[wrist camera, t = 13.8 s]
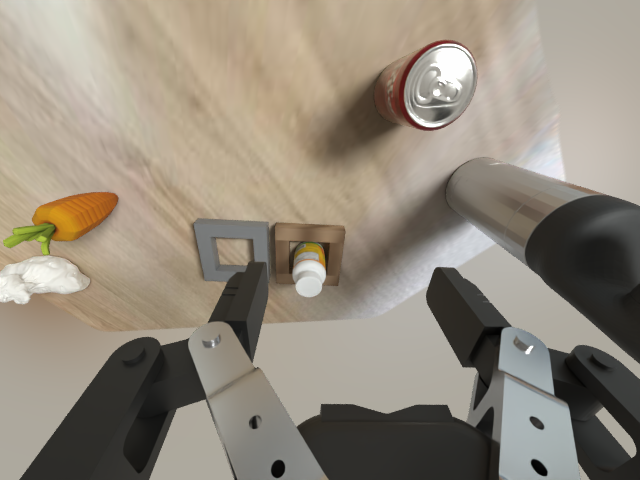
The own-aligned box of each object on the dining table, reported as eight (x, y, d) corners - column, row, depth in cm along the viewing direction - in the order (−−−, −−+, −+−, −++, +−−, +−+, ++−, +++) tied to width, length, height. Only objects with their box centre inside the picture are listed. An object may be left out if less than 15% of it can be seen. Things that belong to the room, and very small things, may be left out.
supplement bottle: (321, 266, 47) (323, 302, 38) (293, 262, 46) (289, 299, 38) (326, 241, 44) (329, 275, 36) (296, 238, 43) (292, 271, 35)
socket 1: (268, 222, 42) (266, 227, 40) (270, 276, 47) (268, 283, 46) (198, 218, 41) (193, 223, 39) (209, 274, 47) (204, 280, 45)
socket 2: (344, 225, 42) (345, 231, 41) (337, 279, 48) (338, 285, 46) (276, 222, 42) (275, 227, 40) (277, 276, 48) (276, 283, 46)
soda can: (364, 111, 34) (386, 115, 23) (388, 49, 31) (427, 22, 20) (410, 130, 35) (450, 142, 25) (438, 73, 32) (498, 58, 22)
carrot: (133, 187, 38) (41, 231, 25) (132, 214, 41) (46, 268, 27) (98, 175, 37) (-18, 215, 24) (99, 204, 40) (-7, 254, 26)
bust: (107, 264, 48) (58, 262, 37) (92, 303, 47) (38, 313, 36) (36, 250, 46) (-37, 243, 35) (19, 290, 45) (-63, 296, 34)
